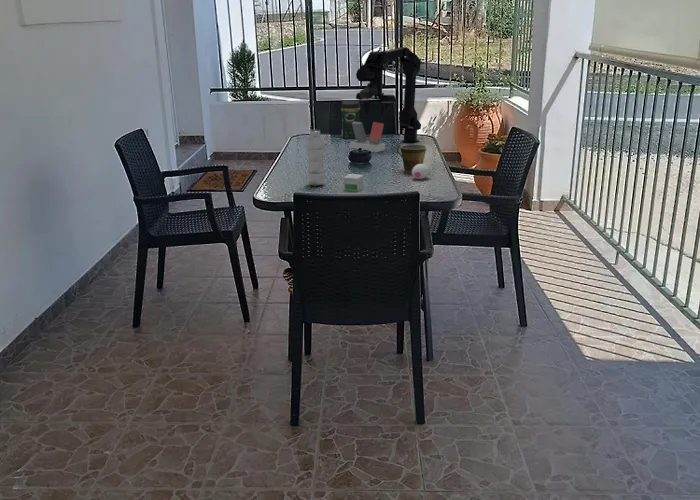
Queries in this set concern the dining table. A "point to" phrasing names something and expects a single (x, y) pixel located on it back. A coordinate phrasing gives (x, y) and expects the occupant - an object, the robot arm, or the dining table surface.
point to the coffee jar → (349, 117)
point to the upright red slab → (376, 132)
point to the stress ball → (420, 171)
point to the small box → (353, 182)
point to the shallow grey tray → (368, 146)
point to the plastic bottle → (315, 159)
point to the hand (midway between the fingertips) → (374, 116)
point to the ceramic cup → (412, 156)
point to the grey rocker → (359, 131)
